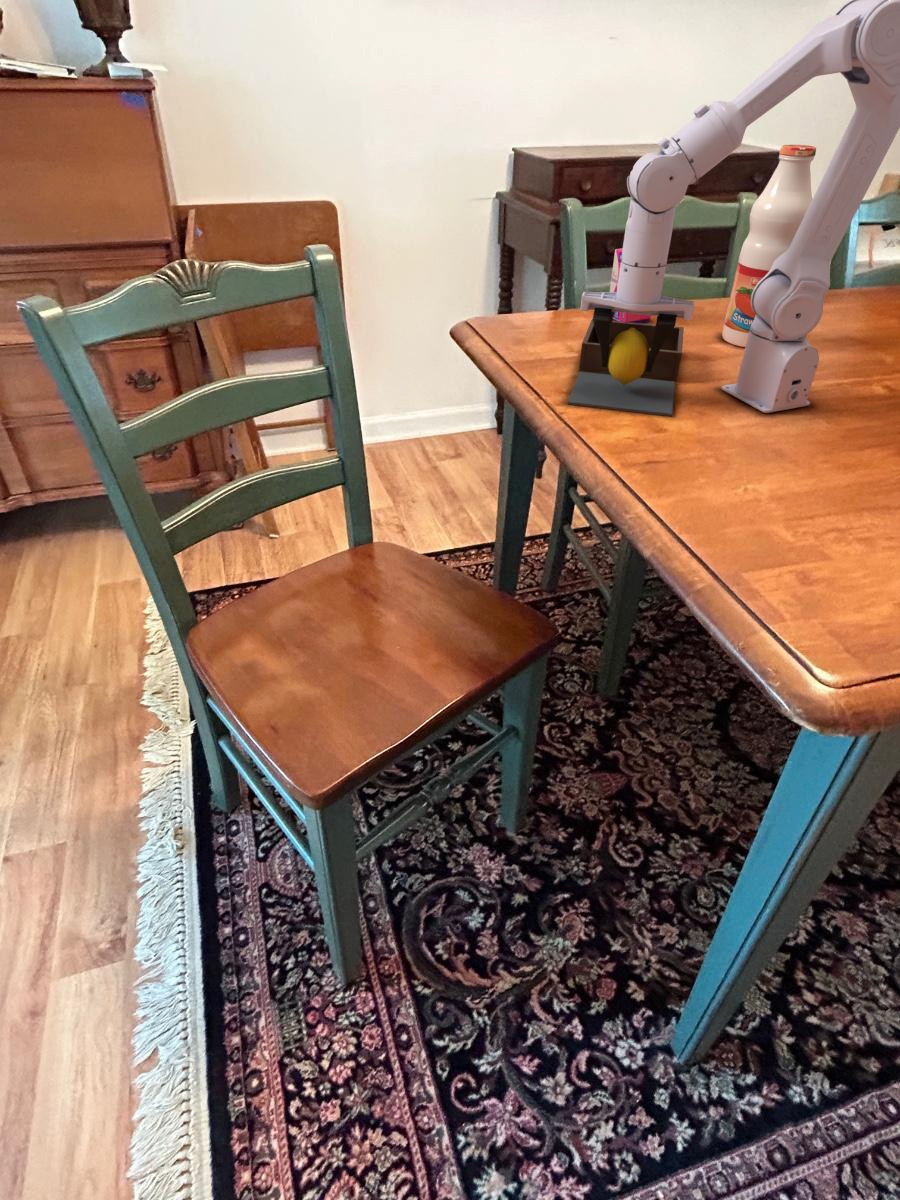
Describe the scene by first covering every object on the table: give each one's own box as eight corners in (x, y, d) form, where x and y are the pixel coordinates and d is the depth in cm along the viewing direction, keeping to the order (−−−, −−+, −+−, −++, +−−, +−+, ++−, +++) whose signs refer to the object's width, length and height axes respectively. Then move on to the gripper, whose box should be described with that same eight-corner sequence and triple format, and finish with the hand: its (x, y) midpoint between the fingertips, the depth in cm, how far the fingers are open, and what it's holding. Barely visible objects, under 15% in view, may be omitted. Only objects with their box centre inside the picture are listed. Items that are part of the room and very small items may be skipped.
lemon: (641, 378, 107) (651, 322, 102) (645, 393, 102) (656, 335, 97) (602, 377, 107) (610, 320, 102) (605, 391, 103) (613, 333, 98)
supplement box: (604, 316, 134) (614, 248, 127) (631, 312, 136) (642, 245, 129) (623, 326, 130) (634, 255, 123) (651, 321, 132) (663, 252, 125)
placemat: (674, 384, 109) (675, 381, 108) (671, 416, 99) (672, 413, 99) (579, 374, 111) (579, 371, 111) (567, 404, 102) (567, 401, 102)
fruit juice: (772, 332, 128) (824, 143, 111) (785, 351, 120) (842, 151, 103) (716, 330, 129) (759, 141, 112) (725, 348, 121) (772, 149, 104)
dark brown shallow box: (678, 354, 119) (684, 327, 116) (676, 382, 109) (682, 353, 107) (588, 345, 122) (591, 318, 119) (578, 371, 112) (581, 343, 110)
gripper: (702, 259, 96) (681, 362, 105) (590, 251, 99) (578, 352, 108) (702, 272, 91) (679, 380, 99) (583, 263, 94) (571, 369, 102)
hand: (626, 367), depth 103 cm, fingers closed on lemon, 5 cm apart
